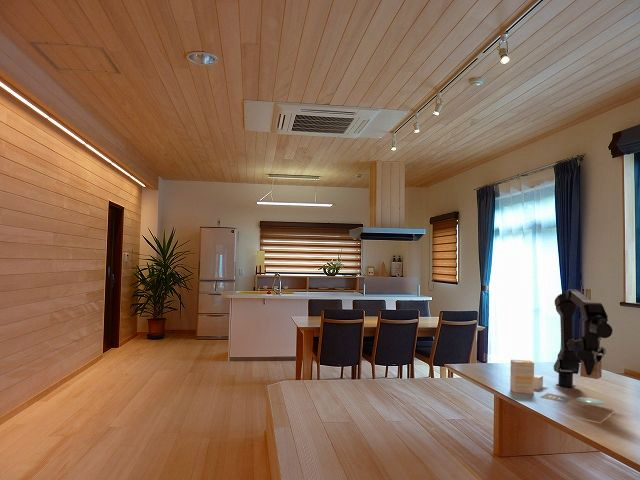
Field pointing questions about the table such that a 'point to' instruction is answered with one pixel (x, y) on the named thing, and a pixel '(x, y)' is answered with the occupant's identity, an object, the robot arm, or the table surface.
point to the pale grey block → (538, 382)
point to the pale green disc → (590, 401)
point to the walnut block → (595, 372)
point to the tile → (542, 389)
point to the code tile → (556, 398)
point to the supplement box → (522, 376)
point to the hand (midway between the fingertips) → (590, 374)
